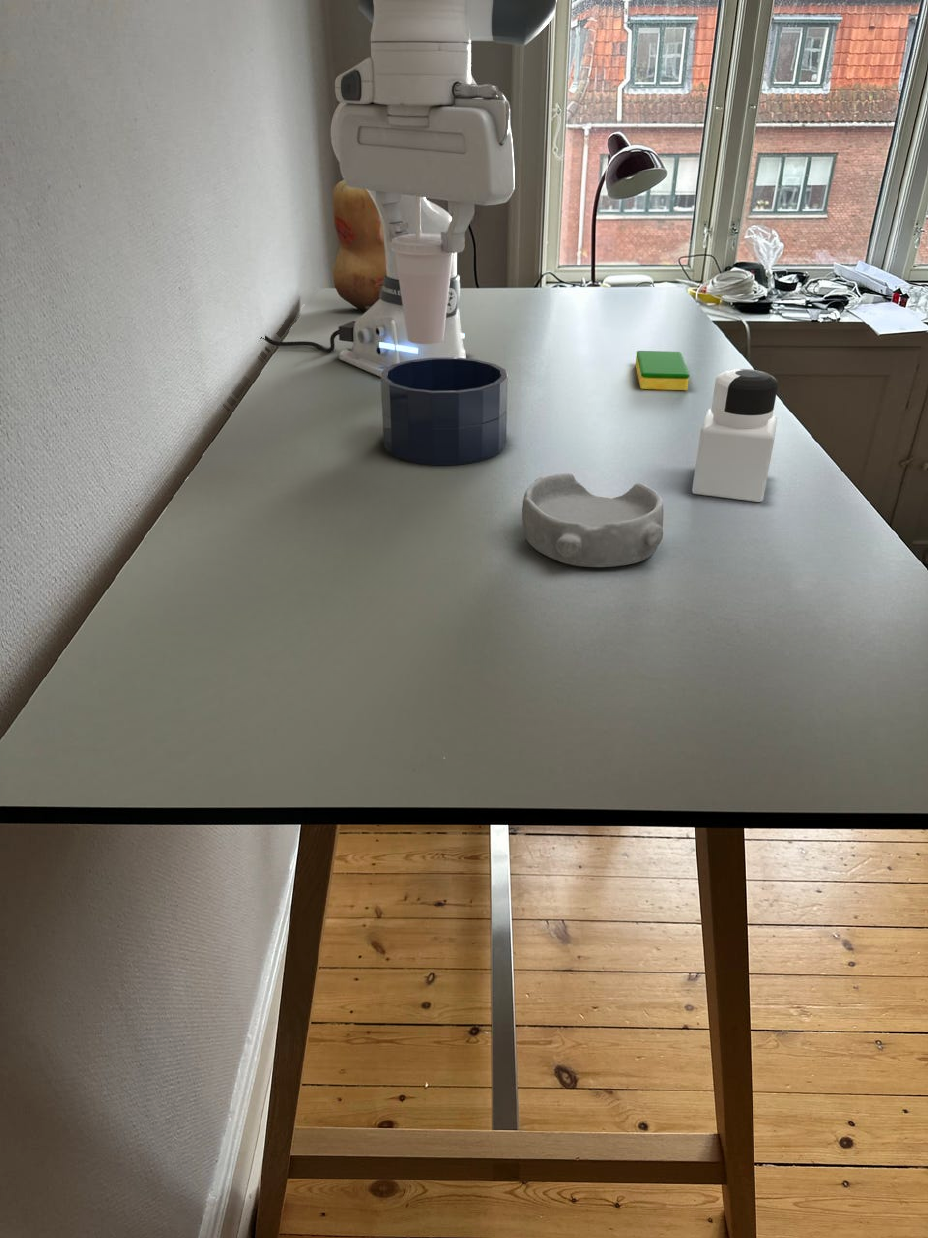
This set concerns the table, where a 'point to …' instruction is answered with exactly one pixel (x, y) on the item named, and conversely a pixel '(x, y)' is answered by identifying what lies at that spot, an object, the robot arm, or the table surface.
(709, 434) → the container
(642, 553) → the dish
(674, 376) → the dish sponge
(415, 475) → the table surface
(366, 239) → the butternut squash
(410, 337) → the smoothie
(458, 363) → the pot
